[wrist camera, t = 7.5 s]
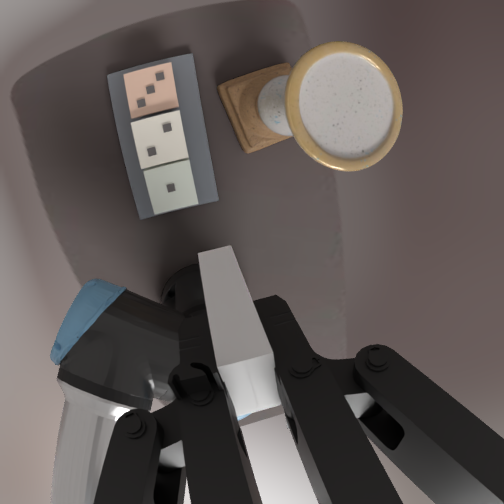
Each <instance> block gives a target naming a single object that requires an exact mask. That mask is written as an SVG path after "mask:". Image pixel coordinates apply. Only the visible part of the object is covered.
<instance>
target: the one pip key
mask: <svg viewBox="0 0 504 504" xmlns="http://www.w3.org/2000/svg"><path fill="white" fill-rule="evenodd" d="M143 172H144V177H145V180H146V184H147V188H148V192H149V196H150V200H151V203H152V207H153V211H154V214H155V215H156V214H159V213H163V212H167V211H171V210H175V209H179V208H183V207H188V206H192V205H196V204H198V199H197V194H196V189H195V185H194V180H193V175H192V171H191V166H190V161H189V156H188V158H183V159H179V160H175V161H171V162H167V163H163V164H159V165H155V166H151V167H148V168H145V169H144V171H143Z"/></svg>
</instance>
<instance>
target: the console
mask: <svg viewBox="0 0 504 504" xmlns="http://www.w3.org/2000/svg"><path fill="white" fill-rule="evenodd" d="M169 62H171V64H172V70H173V75H174V81H175V87H176V93H177V98H178V104H179V107H178V108H174V109H170V110H165V111H161V112H157V113H154V114H150V115H146V116H142V117H139V118H134V119H131V114H130V109H129V104H128V98H127V93H126V87H125V81H124V75H123V74H127V73H130V72H133V71H137V70H141V69H144V68H148V67H152V66H156V65H160V64H165V63H169ZM107 79H108V85H109V91H110V96H111V102H112V107H113V112H114V117H115V122H116V127H117V132H118V136H119V141H120V145H121V149H122V154H123V158H124V162H125V166H126V170H127V174H128V178H129V182H130V185H131V189H132V193H133V196H134V200H135V203H136V207H137V210H138V214H139V217H140V220H141V219H145V218H149V217H153V216H156V215H160V214H164V213H168V212H172V211H176V210H180V209H184V208H189V207H193V206H197V205H201V204H206V203H210V202H214V201H219V198H218V193H217V188H216V182H215V177H214V172H213V167H212V161H211V156H210V151H209V145H208V140H207V134H206V129H205V123H204V118H203V112H202V106H201V101H200V95H199V89H198V83H197V77H196V71H195V65H194V59H193V53H191V54H186V55H181V56H176V57H171V58H167V59H162V60H158V61H154V62H150V63H146V64H142V65H138V66H135V67H131V68H128V69H125V70H121V71H118V72H115V73H112V74H109V75H107ZM178 110H180V115H181V120H182V126H183V131H184V136H185V141H186V146H187V151H188V156H189V161H190V166H191V171H192V175H193V180H194V185H195V189H196V194H197V199H198V204H196V205H192V206H188V207H183V208H179V209H175V210H171V211H167V212H163V213H159V214H156V215H155V214H154V211H153V207H152V203H151V200H150V196H149V192H148V188H147V184H146V180H145V177H144V172H143V171H144V169H145V168H144V169H141V166H140V162H139V158H138V154H137V149H136V145H135V140H134V136H133V131H132V126H131V122H135V121H138V120H142V119H146V118H149V117H153V116H157V115H161V114H165V113H169V112H174V111H178Z"/></svg>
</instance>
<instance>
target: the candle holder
mask: <svg viewBox="0 0 504 504" xmlns="http://www.w3.org/2000/svg"><path fill="white" fill-rule="evenodd" d="M217 90H218V93H219V96H220V99H221V101H222V103H223V106H224V108H225V110H226V113H227V115H228V117H229V120H230V122H231V124H232V127H233V129H234V132H235V134H236V136H237V139H238V141H239V143H240V146H241V148H242V150H243V151H244V152H245V153H251V152H254V151H257V150H259V149H262V148H264V147H267V146H269V145H272V144H274V143H277V142H279V141H282V140H285V139H287V138H290V137H292V136H293V137H294V138H295V140H296V141H297V143H298V145H299V146H300V147H301V148H302V149H303V150H304V152H305V153H306V154H308V155H309V156H310V157H311V158H312V159H314V160H315V161H317V162H319V163H320V164H322V165H324V166H326V167H329V168H331V169H335V170H340V171H357V170H362V169H365V168H368V167H370V166H372V165H374V164H376V163H377V162H378V161H379V160H381V159H382V158H383V157H384V156H385V155H386V154H387V153H388V152H389V150H390V149H391V148H392V146H393V145H394V143H395V141H396V139H397V136H398V134H399V131H400V127H401V122H402V112H403V111H402V99H401V94H400V90H399V88H398V84H397V82H396V80H395V78H394V76H393V74H392V72H391V71H390V69H389V68H388V66H387V65H386V64H385V63H384V62H383V61H382V60H381V59H380V58H379V57H378V56H376V55H375V54H374V53H373V52H371V51H370V50H368V49H367V48H365V47H362V46H360V45H358V44H354V43H350V42H342V41H336V42H327V43H324V44H321V45H318V46H316V47H314V48H312V49H310V50H309V51H307V52H306V53H305V54H304V55H302V56H301V57H300V58H299V60H298V61H297V62H296V63H295V65H294V66H293V68H291V66H290V64H289V63H282V64H278V65H274V66H271V67H268V68H264V69H261V70H258V71H255V72H252V73H249V74H246V75H243V76H240V77H237V78H235V79H232V80H229V81H227V82H225V83H222V84H220V85H219V86H217Z"/></svg>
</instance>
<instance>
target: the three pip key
mask: <svg viewBox="0 0 504 504" xmlns="http://www.w3.org/2000/svg"><path fill="white" fill-rule="evenodd" d="M123 75H124V81H125V87H126V93H127V98H128V104H129V109H130V114H131V119H134V118H139V117H142V116H146V115H150V114H154V113H157V112H161V111H165V110H170V109H174V108H178V107H179V104H178V98H177V93H176V87H175V81H174V75H173V70H172V64H171V62H169V63H165V64H160V65H156V66H152V67H148V68H144V69H141V70H137V71H133V72H130V73H127V74H123Z"/></svg>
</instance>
